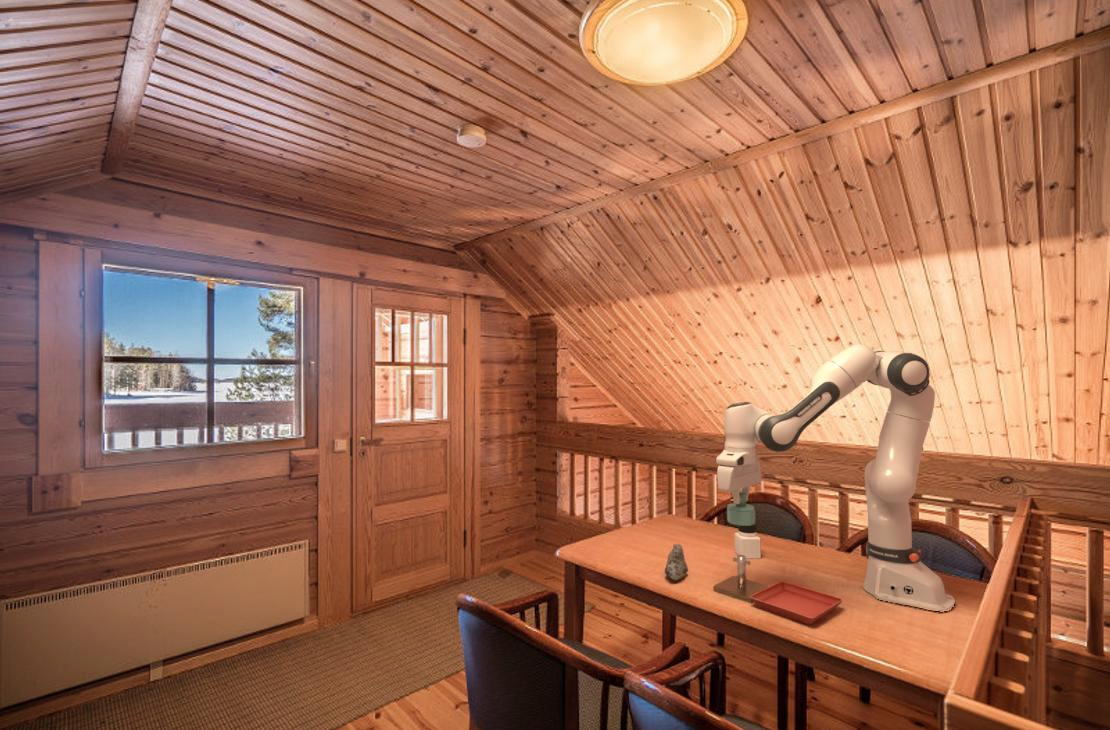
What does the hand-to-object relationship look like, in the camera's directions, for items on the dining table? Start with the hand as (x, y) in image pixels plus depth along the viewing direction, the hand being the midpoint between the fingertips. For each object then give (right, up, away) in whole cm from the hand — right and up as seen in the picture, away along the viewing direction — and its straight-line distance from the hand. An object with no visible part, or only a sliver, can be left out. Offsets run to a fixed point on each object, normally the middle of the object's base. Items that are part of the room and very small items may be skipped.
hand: (740, 502), depth 162 cm
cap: (0, -6, 0) cm, 6 cm away
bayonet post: (0, -27, 0) cm, 27 cm away
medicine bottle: (+13, -27, +31) cm, 43 cm away
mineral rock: (-18, -27, +13) cm, 35 cm away
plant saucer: (+11, -27, -12) cm, 32 cm away
